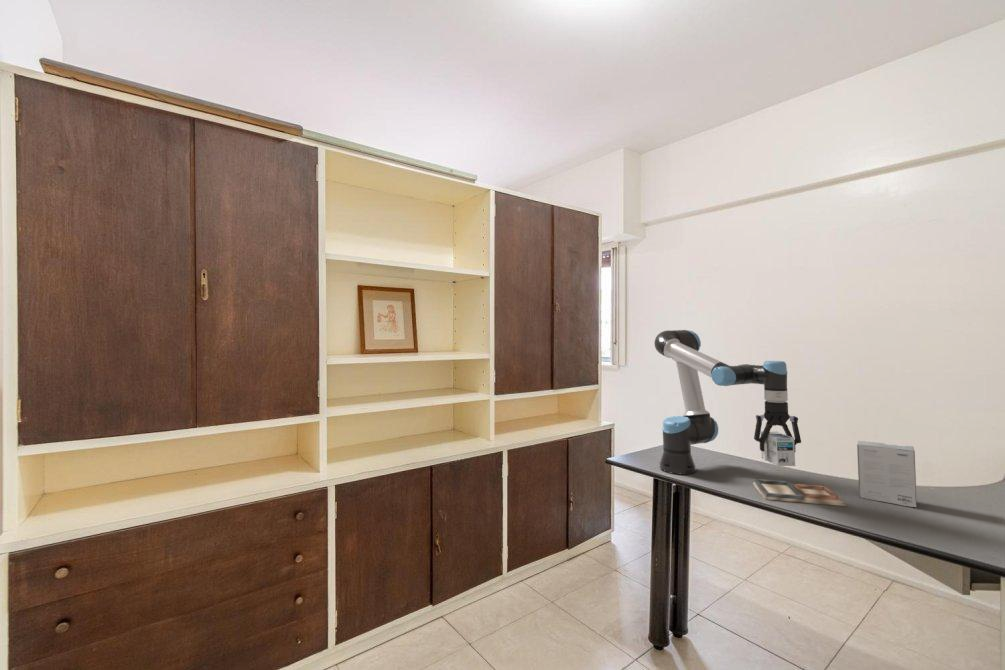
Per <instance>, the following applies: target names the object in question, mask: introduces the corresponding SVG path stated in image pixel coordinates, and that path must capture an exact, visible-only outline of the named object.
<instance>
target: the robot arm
mask: <svg viewBox="0 0 1005 670" xmlns="http://www.w3.org/2000/svg"><path fill="white" fill-rule="evenodd" d="M701 343H702V342H701V339H700V337H699V334H697V333H696V332H694V331H693V330H689V329H676V330H664V331H662V332H659V333H658V334H657V335H656V336H655V340H654V347H655V350H656V351H657V352H658V354H661V355H662V356H663V357H665V358H666V359H667V358H668V359H671V360H673V361H675V363H676V364H675V365H676V367H677V372H678V373H677V374H678V379H679V384H680V388H681V389H680V390H681V394H682V399H683V404H684V408H685V409H684V410H685V412H684V413H683V414H682V415H677V416H675V415H674V416H670V417H666V418H665V419H664V420H663V422H662V441H663V442H662V445H663V449H662V451H663V452H662V455H661V457H660V461H659V469H660V468H661V469H663V470H665V471H668V472H672V473H681V474H680V475H691V474H690V473H692V474H695V473H696V463H695V461H694V459H693V455H692V448H691V446H693V445H699V444H707V443H710V442H712V441H714V440H715V439H716V438H717V437H718V434H719V425H718V423H717V421H716V420H715V418H713V417H711V414H710V411H708V410H707V409H706V405H705V401H704V397H703V392H702V386H701V381H700V377H699V372H700V373H702V374H703V375H706V376H708V377H709V378H711V380H712V382H713V383H714V384H715V385H717V386H720V387H721V386H723V387H730V386H737V385H748V384H749V385H750V384H752V385H753V384H754V385H763V389H764V391H763V393H764V394H763V395H764V400H765V401H764V413H763V414H760V415H759V414H757V415H755V419H756V423H755V430H754V436H753V439H754V440H755V441H756V442H758V443H759V450H760V452H761V451H763V460H764V461H766V462H768V461H767V444H766V443H765V440H766V438H767V436H768V434H769V432H771V430H772V428H773V426H774V427H776V426H780V427H782V430H783V431H784V433H785V435H787V436H790V437H794V446H795V447H796V445H797V444H801V443H802V440H801V439H802V438H801V435H800V430H799V425H798V421H799V417H797V416H796V415H790V414H789V403H788V400H789V398H788V368H787V363H786V361H782V360H765V361H763V365H760V364H759V365H756V364H748V363H746V364H745V363H744V364H738V365H729V364H726V363H724V362H722V361H720V360H718V359H716V358H713V357H711V356H709V355H707V354H705V353H703V352H701V351H700V348H701V346H702V344H701ZM764 419H765V420H766V423H765V427H764V428H763V431H762V424H763V421H764ZM787 421H790V422H791V423H790V424H791V426H792V431H793V435H794V436H793V435H792V433H791V431H790V428H789V425H788V424H787ZM761 432H763V433H762V435H761ZM796 450H797V449H795V453H796ZM661 469H660V470H661ZM663 470H662V471H663ZM665 471H664V472H665ZM668 472H667V473H668ZM672 473H671V474H672Z"/></svg>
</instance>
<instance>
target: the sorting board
mask: <svg viewBox="0 0 1005 670" xmlns="http://www.w3.org/2000/svg"><path fill="white" fill-rule="evenodd" d="M752 485H753V486H754V488H755V489H757V491H758V492H759V493H760V495H761V496H762V497H763V498H764V500H770V501H782V502H791V503H792V502H793V503H794V502H795V503H804V504H817V505H827V506H828V505H831V506H840V507H841V506H842V507H847V503H846V502H845V501H844V500H843V499H841V498H840V497H839V496H838V495H837V494H836V493H835V492H833V490H832V489H830V488H829V487H828V486H823V485H816V484H815V485H814V484H802V483H801V484H800V483H795V484H794V483H791V482H790V481H787V480H775V479H774V480H773V479H761V478H760V479H759V478H758V479H757V478H754V481H753V483H752Z"/></svg>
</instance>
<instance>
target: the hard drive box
mask: <svg viewBox="0 0 1005 670" xmlns="http://www.w3.org/2000/svg"><path fill="white" fill-rule="evenodd" d="M856 449H857V451H856V452H857V472H858V474H857V475H858V478H857V479H858V497H859V498H862V499H867V500H871V501H876V502H877V501H878V502H883V503H889V504H893V505H898V506H903V507H911V508H914V507H915V508H918V504H917V503H918V501H917V500H918V499H917V481H916V480H917V478H916V472H917V471H916V451H915V449H914V446H912V445H903V444H893V443H886V442H885V443H884V442H874V441H865V440H857V444H856Z"/></svg>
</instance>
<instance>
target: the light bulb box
mask: <svg viewBox="0 0 1005 670" xmlns="http://www.w3.org/2000/svg"><path fill="white" fill-rule="evenodd" d="M762 433H763V431H761V432H760V436H761V435H762ZM794 440H795V437H794V436H793V437H790V436H787V435H786V433H785V434H784V433H781V432H779V431H770V432H769V434H768V436H767V438H766V440H765V443H766V444H767V461H766V462H769V463H771V464H772V465H775V466H777V467H796V457H795V456H796V452H795V450H796V445H795V446H794ZM760 453H761V459H763V451H761V450H760ZM763 460H764V459H763Z"/></svg>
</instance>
